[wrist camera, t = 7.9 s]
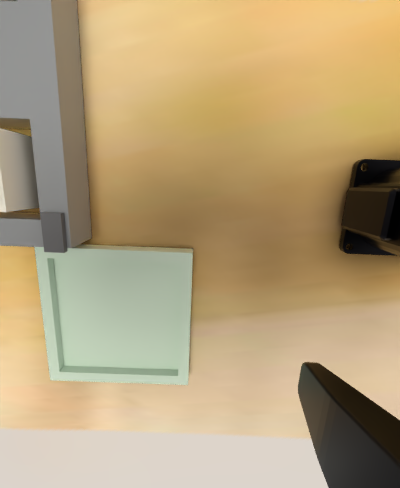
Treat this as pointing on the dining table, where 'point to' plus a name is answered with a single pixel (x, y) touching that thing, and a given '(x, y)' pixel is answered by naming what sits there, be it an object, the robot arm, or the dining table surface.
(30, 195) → the plug
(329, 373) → the robot arm
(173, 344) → the parts tray
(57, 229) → the grey socket board
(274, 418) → the dining table surface
